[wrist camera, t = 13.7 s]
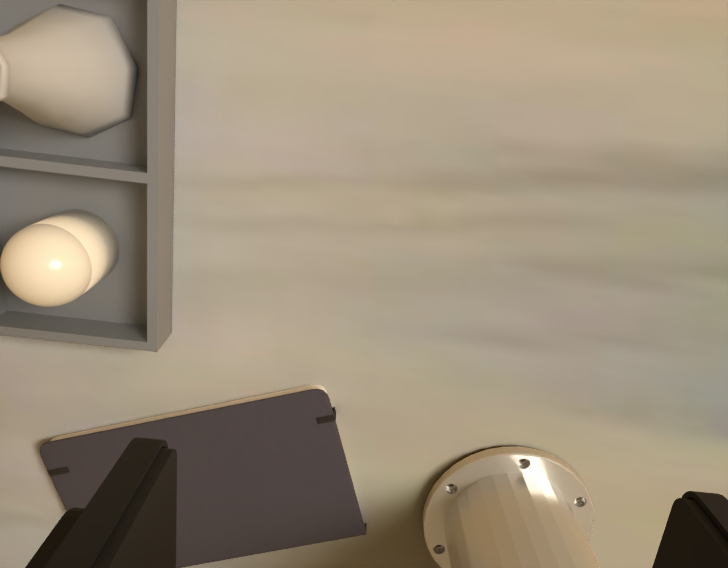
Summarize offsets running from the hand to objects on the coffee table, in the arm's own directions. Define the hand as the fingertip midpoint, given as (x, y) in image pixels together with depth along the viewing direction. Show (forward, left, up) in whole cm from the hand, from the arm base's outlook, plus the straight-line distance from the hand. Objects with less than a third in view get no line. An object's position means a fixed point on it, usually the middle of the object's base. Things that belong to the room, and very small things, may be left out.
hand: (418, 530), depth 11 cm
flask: (+6, +19, -28) cm, 34 cm away
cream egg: (-4, +19, -27) cm, 33 cm away
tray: (+1, +19, -28) cm, 34 cm away
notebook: (-22, +10, -29) cm, 37 cm away
